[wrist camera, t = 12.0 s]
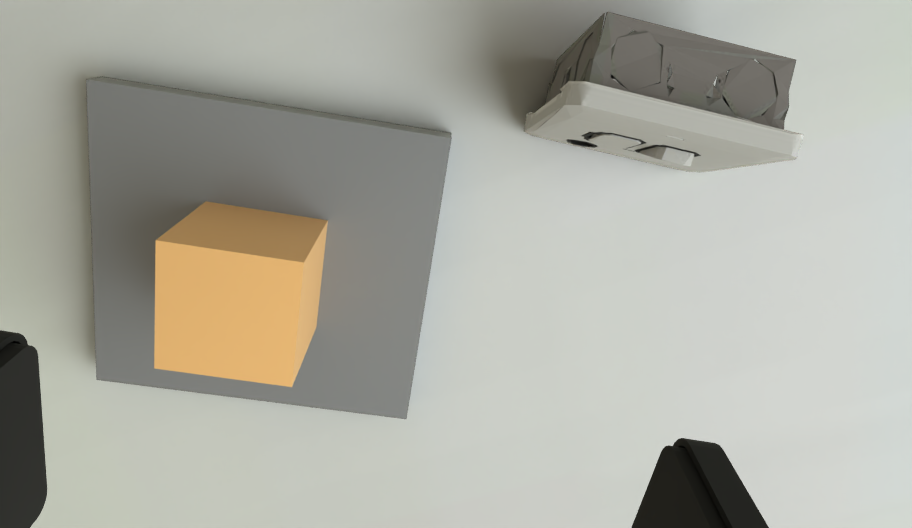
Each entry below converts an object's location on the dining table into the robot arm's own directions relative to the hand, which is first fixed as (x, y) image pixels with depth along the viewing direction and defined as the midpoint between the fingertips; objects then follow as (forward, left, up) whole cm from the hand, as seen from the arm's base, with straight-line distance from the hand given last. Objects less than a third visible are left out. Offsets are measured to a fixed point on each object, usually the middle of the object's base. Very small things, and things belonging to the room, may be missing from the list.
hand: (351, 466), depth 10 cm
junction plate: (+7, -7, -25) cm, 26 cm away
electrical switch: (-4, +10, -25) cm, 27 cm away
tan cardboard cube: (+7, -7, -23) cm, 25 cm away
